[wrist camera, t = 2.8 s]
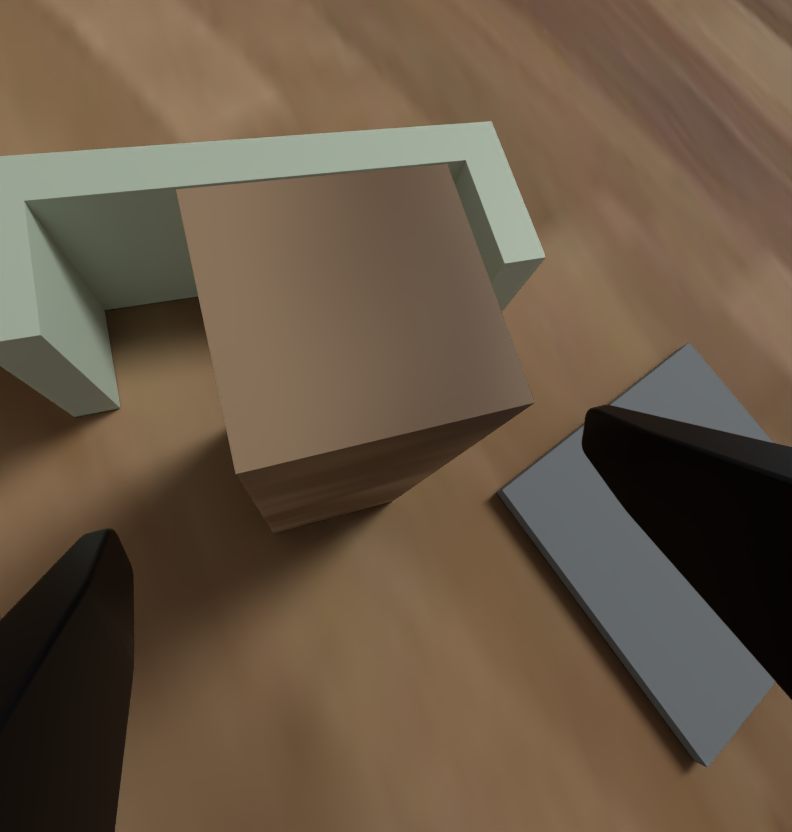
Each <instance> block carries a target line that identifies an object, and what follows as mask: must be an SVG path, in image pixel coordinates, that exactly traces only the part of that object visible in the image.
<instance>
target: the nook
mask: <svg viewBox="0 0 792 832" xmlns="http://www.w3.org/2000/svg"><path fill="white" fill-rule="evenodd" d="M443 164H448V167H449V170H450V172H451V175H452V178H453V181H454V183H455V186H456V189H457V192H458V194H459V197H460V200H461V203H462V205H463V208H464V211H465V213H466V216H467V219H468V222H469V224H470V227H471V230H472V233H473V235H474V238H475V241H476V243H477V246H478V249H479V252H480V254H481V257H482V260H483V263H484V265H485V268H486V271H487V273H488V276H489V279H490V282H491V284H492V287H493V290H494V293H495V295H496V298H497V301H498V304H499V306H500V309H501V312H502V311H503V310H504V309H505V307H506V306H507V305H508V304H509V302H510V301H511V300H512V299H513V297H514V296H515V295H516V294H517V292H518V291H519V290H520V289H521V287H522V286H523V285H524V284H525V282H526V281H527V280H528V279H529V277H530V276H531V275H532V274H533V272H534V271H535V270H536V269H537V268H538V266H539V265H540V264H541V263H542V261H543V260H544V259H545V258H546V256H545V254H544V251H543V249H542V246H541V244H540V241H539V239H538V236H537V234H536V231H535V229H534V226H533V224H532V221H531V219H530V216H529V214H528V211H527V209H526V206H525V204H524V201H523V199H522V196H521V194H520V191H519V189H518V187H517V184H516V182H515V179H514V177H513V174H512V172H511V169H510V167H509V164H508V162H507V159H506V157H505V154H504V152H503V149H502V147H501V144H500V142H499V139H498V137H497V134H496V132H495V129H494V127H493V124H492V122H491V121H490V122H476V123H462V124H448V125H434V126H420V127H406V128H392V129H378V130H363V131H349V132H335V133H321V134H307V135H293V136H279V137H265V138H251V139H237V140H223V141H209V142H195V143H181V144H167V145H153V146H139V147H125V148H110V149H96V150H82V151H68V152H54V153H40V154H26V155H12V156H0V366H1V367H2V368H4V369H5V370H7V371H8V372H9V373H11V374H12V375H14V376H15V377H17V378H18V379H20V380H21V381H23V382H24V383H26V384H27V385H28V386H30V387H31V388H33V389H34V390H36V391H37V392H39V393H40V394H42V395H43V396H44V397H46V398H47V399H49V400H50V401H52V402H53V403H55V404H56V405H58V406H59V407H61V408H62V409H63V410H65V411H66V412H68V413H69V414H71V415H72V416H74V417H77V416H82V415H87V414H92V413H98V412H103V411H108V410H113V409H118V408H120V403H119V396H118V390H117V384H116V377H115V371H114V365H113V359H112V352H111V346H110V340H109V334H108V327H107V321H106V315H105V310H109V309H116V308H123V307H130V306H137V305H143V304H150V303H157V302H164V301H171V300H177V299H184V298H191V297H198V292H197V288H196V283H195V278H194V273H193V269H192V264H191V259H190V254H189V250H188V245H187V240H186V235H185V231H184V226H183V221H182V216H181V211H180V207H179V202H178V197H177V192H176V189H186V188H197V187H208V186H219V185H229V184H240V183H251V182H261V181H272V180H283V179H293V178H304V177H315V176H326V175H336V174H347V173H358V172H368V171H379V170H390V169H400V168H411V167H422V166H433V165H443Z"/></svg>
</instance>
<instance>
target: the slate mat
mask: <svg viewBox="0 0 792 832" xmlns="http://www.w3.org/2000/svg"><path fill="white" fill-rule="evenodd" d="M608 405H612V406H616V407H621V408H625V409H629V410H634V411H638V412H642V413H647V414H651V415H655V416H660V417H664V418H668V419H672V420H677V421H681V422H685V423H690V424H694V425H698V426H703V427H707V428H711V429H716V430H720V431H724V432H728V433H733V434H737V435H741V436H746V437H750V438H754V439H759V440H763V441H767V442H772V441H771V439H770V438H769V437H768V436H767V435H766V433H765V432H764V431H763V430H762V429H761V427H760V426H759V425H758V424H757V423H756V421H755V420H754V419H753V418H752V417H751V415H750V414H749V413H748V412H747V411H746V409H745V408H744V407H743V406H742V405H741V403H740V402H739V401H738V400H737V399H736V398H735V396H734V395H733V394H732V393H731V392H730V390H729V389H728V388H727V387H726V386H725V384H724V383H723V382H722V381H721V380H720V378H719V377H718V376H717V375H716V374H715V372H714V371H713V370H712V369H711V368H710V366H709V365H708V364H707V363H706V362H705V360H704V359H703V358H702V357H701V356H700V355H699V353H698V352H697V351H696V350H695V349H694V347H693V346H692V345H691V344H690V343H688V344H686V345H684V346H683V347H681V348H679V349H678V350H677V351H676V352H674V353H673V354H672V355H671V356H669V357H668V358H667V359H665V360H664V361H663V362H662V363H660V364H659V365H658V366H657V367H655V368H654V369H653V370H651V371H650V372H649V373H648V374H646V375H645V376H644V377H643V378H641V379H640V380H639V381H637V382H636V383H635V384H634V385H632V386H631V387H630V388H628V389H627V390H626V391H625V392H623V393H622V394H621V395H620V396H618V397H617V398H616V399H614V400H613V401H612V402H611V403H609V404H608ZM583 429H584V424H583V425H581V426H580V427H579V428H577V429H576V430H575V431H574V432H572V433H571V434H570V435H569V436H567V437H566V438H565V439H563V440H562V441H561V442H560V443H558V444H557V445H556V446H555V447H553V448H552V449H551V450H549V451H548V452H547V453H546V454H544V455H543V456H542V457H541V458H539V459H538V460H537V461H535V462H534V463H533V464H532V465H530V466H529V467H528V468H526V469H525V470H524V471H523V472H521V473H520V474H519V475H518V476H516V477H515V478H514V479H512V480H511V481H510V482H509V483H507V484H506V485H505V486H504V487H502V488H501V489H500V490H498V491H497V494H498V495H499V496H500V498H501V499H502V500H503V502H504V503H505V504H506V506H507V507H508V509H509V510H510V511H511V513H512V514H513V515H514V517H515V518H516V519H517V521H518V522H519V523H520V525H521V526H522V528H523V529H524V530H525V532H526V533H527V534H528V536H529V537H530V538H531V540H532V541H533V542H534V544H535V545H536V547H537V548H538V549H539V551H540V552H541V553H542V555H543V556H544V557H545V559H546V560H547V561H548V563H549V564H550V565H551V567H552V568H553V570H554V571H555V572H556V574H557V575H558V576H559V578H560V579H561V580H562V582H563V583H564V584H565V586H566V587H567V589H568V590H569V591H570V593H571V594H572V595H573V597H574V598H575V599H576V601H577V602H578V603H579V605H580V606H581V608H582V609H583V610H584V612H585V613H586V614H587V616H588V617H589V618H590V620H591V621H592V622H593V624H594V625H595V627H596V628H597V629H598V631H599V632H600V633H601V635H602V636H603V637H604V639H605V640H606V641H607V643H608V644H609V645H610V647H611V648H612V650H613V651H614V652H615V654H616V655H617V656H618V658H619V659H620V660H621V662H622V663H623V664H624V666H625V667H626V669H627V670H628V671H629V673H630V674H631V675H632V677H633V678H634V679H635V681H636V682H637V683H638V685H639V686H640V688H641V689H642V690H643V692H644V693H645V694H646V696H647V697H648V698H649V700H650V701H651V702H652V704H653V705H654V706H655V708H656V709H657V711H658V712H659V713H660V715H661V716H662V717H663V719H664V720H665V721H666V723H667V724H668V725H669V727H670V728H671V730H672V731H673V732H674V734H675V735H676V736H677V738H678V739H679V740H680V742H681V743H682V744H683V746H684V747H685V749H686V750H687V751H688V753H689V754H690V755H691V757H692V758H693V759H694V761H695V762H697V763H699V764H701V765H703V766H706V767H709V765H710V764H711V763H712V762H713V760H714V759H715V758H716V756H717V755H718V754H719V753H720V751H721V750H722V749H723V748H724V746H725V745H726V744H727V743H728V741H729V740H730V739H731V738H732V736H733V735H734V734H735V732H736V731H737V730H738V729H739V727H740V726H741V725H742V724H743V722H744V721H745V720H746V719H747V717H748V716H749V715H750V714H751V712H752V711H753V710H754V708H755V707H756V706H757V705H758V703H759V702H760V701H761V700H762V698H763V697H764V696H765V695H766V693H767V692H768V691H769V690H770V688H771V687H772V686H773V684H774V683H775V680H774V679H773V678H772V677H771V676H770V675H769V674H768V672H767V671H766V670H765V669H764V668H763V667H762V666H761V664H760V663H759V662H758V661H757V660H756V659H755V658H754V656H753V655H752V654H751V653H750V652H749V651H748V650H747V649H746V647H745V646H744V645H743V644H742V643H741V642H740V641H739V639H738V638H737V637H736V636H735V635H734V634H733V633H732V631H731V630H730V629H729V628H728V627H727V626H726V625H725V623H724V622H723V621H722V620H721V619H720V618H719V617H718V615H717V614H716V613H715V612H714V611H713V610H712V609H711V608H710V606H709V605H708V604H707V603H706V602H705V601H704V600H703V598H702V597H701V596H700V595H699V594H698V593H697V592H696V590H695V589H694V588H693V587H692V586H691V585H690V584H689V582H688V581H687V580H686V579H685V578H684V577H683V576H682V574H681V573H680V572H679V571H678V570H677V569H676V568H675V567H674V565H673V564H672V563H671V562H670V561H669V560H668V559H667V557H666V556H665V555H664V554H663V553H662V552H661V551H660V549H659V548H658V547H657V546H656V545H655V544H654V543H653V541H652V540H651V539H650V538H649V537H648V536H647V535H646V533H645V532H644V531H643V530H642V529H641V528H640V527H639V526H638V524H637V523H636V522H635V521H634V520H633V519H632V517H631V516H630V515H629V514H628V513H627V512H626V510H625V509H624V508H623V506H622V505H621V504H620V502H619V501H618V500H617V498H616V497H615V496H614V494H613V493H612V491H611V490H610V489H609V487H608V486H607V484H606V483H605V482H604V480H603V479H602V478H601V476H600V475H599V473H598V472H597V471H596V469H595V468H594V466H593V465H592V464H591V462H590V461H589V459H588V458H587V457H586V455H585V454H584V452H583V449H582V443H581V442H582V435H583ZM772 443H773V442H772Z"/></svg>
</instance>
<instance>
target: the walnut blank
mask: <svg viewBox="0 0 792 832" xmlns="http://www.w3.org/2000/svg"><path fill="white" fill-rule="evenodd" d="M176 192H177V197H178V202H179V207H180V211H181V216H182V221H183V226H184V231H185V235H186V240H187V245H188V250H189V254H190V259H191V264H192V269H193V273H194V278H195V283H196V288H197V292H198V297H199V302H200V307H201V312H202V316H203V321H204V326H205V331H206V335H207V340H208V345H209V350H210V354H211V359H212V364H213V369H214V373H215V378H216V383H217V388H218V393H219V397H220V402H221V407H222V412H223V416H224V421H225V426H226V431H227V435H228V440H229V445H230V450H231V454H232V459H233V464H234V469H235V474H236V476H237V477H238V479H239V480H240V482H241V483H242V485H243V487H244V488H245V490H246V491H247V493H248V494H249V496H250V498H251V499H252V501H253V502H254V504H255V505H256V507H257V509H258V510H259V512H260V513H261V515H262V517H263V518H264V520H265V521H266V523H267V524H268V526H269V528H270V529H271V531H272V532H273V534H275V533H278V532H282V531H286V530H289V529H293V528H297V527H300V526H304V525H308V524H311V523H315V522H319V521H322V520H326V519H329V518H333V517H337V516H340V515H344V514H348V513H351V512H355V511H359V510H362V509H366V508H370V507H373V506H377V505H381V504H384V503H388V502H391V501H393V500H395V499H396V498H398V497H399V496H401V495H402V494H404V493H405V492H406V491H408V490H409V489H411V488H412V487H414V486H415V485H417V484H418V483H419V482H421V481H422V480H424V479H425V478H427V477H428V476H430V475H431V474H432V473H434V472H435V471H437V470H438V469H440V468H441V467H443V466H444V465H445V464H447V463H448V462H450V461H451V460H453V459H454V458H456V457H457V456H458V455H460V454H461V453H463V452H464V451H466V450H467V449H469V448H470V447H471V446H473V445H474V444H476V443H477V442H479V441H480V440H482V439H483V438H484V437H486V436H487V435H489V434H490V433H492V432H493V431H495V430H496V429H497V428H499V427H500V426H502V425H503V424H505V423H506V422H508V421H509V420H510V419H512V418H513V417H515V416H516V415H518V414H519V413H521V412H522V411H523V410H525V409H526V408H528V407H529V406H531V405H532V404H534V403H535V402H534V399H533V396H532V394H531V391H530V388H529V385H528V383H527V380H526V377H525V374H524V372H523V369H522V366H521V364H520V361H519V358H518V355H517V353H516V350H515V347H514V344H513V342H512V339H511V336H510V334H509V331H508V328H507V325H506V323H505V320H504V317H503V314H502V312H501V309H500V306H499V304H498V301H497V298H496V295H495V293H494V290H493V287H492V284H491V282H490V279H489V276H488V273H487V271H486V268H485V265H484V263H483V260H482V257H481V254H480V252H479V249H478V246H477V243H476V241H475V238H474V235H473V233H472V230H471V227H470V224H469V222H468V219H467V216H466V213H465V211H464V208H463V205H462V203H461V200H460V197H459V194H458V192H457V189H456V186H455V183H454V181H453V178H452V175H451V172H450V170H449V167H448V164H443V165H433V166H422V167H411V168H400V169H390V170H379V171H368V172H358V173H347V174H336V175H326V176H315V177H304V178H293V179H283V180H272V181H261V182H251V183H240V184H229V185H219V186H208V187H197V188H186V189H176Z"/></svg>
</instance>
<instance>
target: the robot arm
mask: <svg viewBox="0 0 792 832" xmlns="http://www.w3.org/2000/svg"><path fill="white" fill-rule="evenodd" d="M581 443H582V449H583V452H584V454H585V455H586V457H587V458H588V459H589V461H590V462H591V464H592V465H593V466H594V468H595V469H596V471H597V472H598V473H599V475H600V476H601V478H602V479H603V480H604V482H605V483H606V484H607V486H608V487H609V489H610V490H611V491H612V493H613V494H614V496H615V497H616V498H617V500H618V501H619V502H620V504H621V505H622V506H623V508H624V509H625V510H626V512H627V513H628V514H629V515H630V516H631V517H632V519H633V520H634V521H635V522H636V523H637V524H638V526H639V527H640V528H641V529H642V530H643V531H644V532H645V533H646V535H647V536H648V537H649V538H650V539H651V540H652V541H653V543H654V544H655V545H656V546H657V547H658V548H659V549H660V551H661V552H662V553H663V554H664V555H665V556H666V557H667V559H668V560H669V561H670V562H671V563H672V564H673V565H674V567H675V568H676V569H677V570H678V571H679V572H680V573H681V574H682V576H683V577H684V578H685V579H686V580H687V581H688V582H689V584H690V585H691V586H692V587H693V588H694V589H695V590H696V592H697V593H698V594H699V595H700V596H701V597H702V598H703V600H704V601H705V602H706V603H707V604H708V605H709V606H710V608H711V609H712V610H713V611H714V612H715V613H716V614H717V615H718V617H719V618H720V619H721V620H722V621H723V622H724V623H725V625H726V626H727V627H728V628H729V629H730V630H731V631H732V633H733V634H734V635H735V636H736V637H737V638H738V639H739V641H740V642H741V643H742V644H743V645H744V646H745V647H746V649H747V650H748V651H749V652H750V653H751V654H752V655H753V656H754V658H755V659H756V660H757V661H758V662H759V663H760V664H761V666H762V667H763V668H764V669H765V670H766V671H767V672H768V674H769V675H770V676H771V677H772V678H773V679H774V680H775V682H776V683H777V684H778V685H779V686H780V687H781V688H782V690H783V691H784V692H785V693H786V694H787V695H788V696H789V697H790V699H791V700H792V447H789V446H785V445H780V444H776V443H772V442H767V441H763V440H759V439H754V438H750V437H746V436H741V435H737V434H733V433H728V432H724V431H720V430H716V429H711V428H707V427H703V426H698V425H694V424H690V423H685V422H681V421H677V420H672V419H668V418H664V417H660V416H655V415H651V414H647V413H642V412H638V411H634V410H629V409H625V408H621V407H616V406H612V405H602V406H598V407H594V408H591V409H589V410H588V411H587V413H586V416H585V422H584V429H583V435H582V442H581ZM133 669H134V581H133V571H132V566H131V563H130V561H129V559H128V557H127V555H126V552H125V550H124V548H123V546H122V544H121V542H120V539H119V537H118V535H117V533H116V532H115V531H114V530H113V529H110V528H107V529H103V530H99V531H95V532H91V533H87V534H85V535H83V536H82V537H81V538H80V539H79V540H78V541H77V542H76V543H75V544H74V545H73V546H72V547H71V548H70V549H69V550H68V551H67V552H66V553H65V554H64V555H63V556H62V557H61V558H60V559H59V560H58V561H57V562H56V563H55V564H54V565H53V566H52V567H51V569H50V570H49V571H48V572H47V573H46V574H45V575H44V576H43V577H42V578H41V579H40V580H39V581H38V582H37V583H36V584H35V585H34V586H33V587H32V588H31V589H30V590H29V591H28V592H27V593H26V594H25V595H24V596H23V597H22V598H21V599H20V600H19V602H18V603H17V604H16V605H15V606H14V607H13V608H12V609H11V610H10V611H9V612H8V613H7V614H6V615H5V616H4V617H3V618H2V619H1V620H0V832H115V824H116V815H117V807H118V798H119V790H120V782H121V773H122V765H123V756H124V748H125V739H126V731H127V722H128V714H129V706H130V697H131V689H132V680H133Z"/></svg>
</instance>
